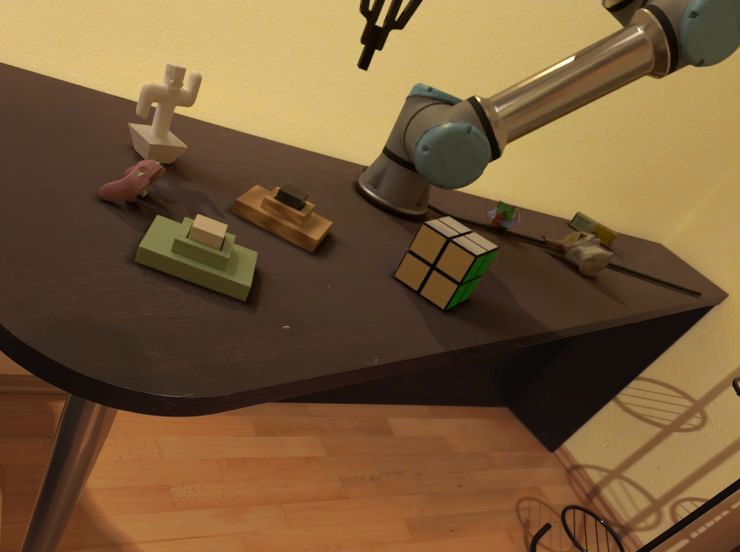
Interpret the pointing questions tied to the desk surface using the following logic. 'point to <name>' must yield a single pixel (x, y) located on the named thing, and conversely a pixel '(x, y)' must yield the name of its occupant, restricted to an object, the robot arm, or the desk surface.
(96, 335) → the desk surface
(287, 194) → the black key
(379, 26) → the robot arm
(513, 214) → the geometric puzzle
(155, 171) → the pink rounded piece
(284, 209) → the wooden socket base
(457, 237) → the puzzle cube
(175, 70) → the figurine
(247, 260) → the green stepped button base
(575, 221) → the medication box
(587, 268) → the ceramic sculpture
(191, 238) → the white key
